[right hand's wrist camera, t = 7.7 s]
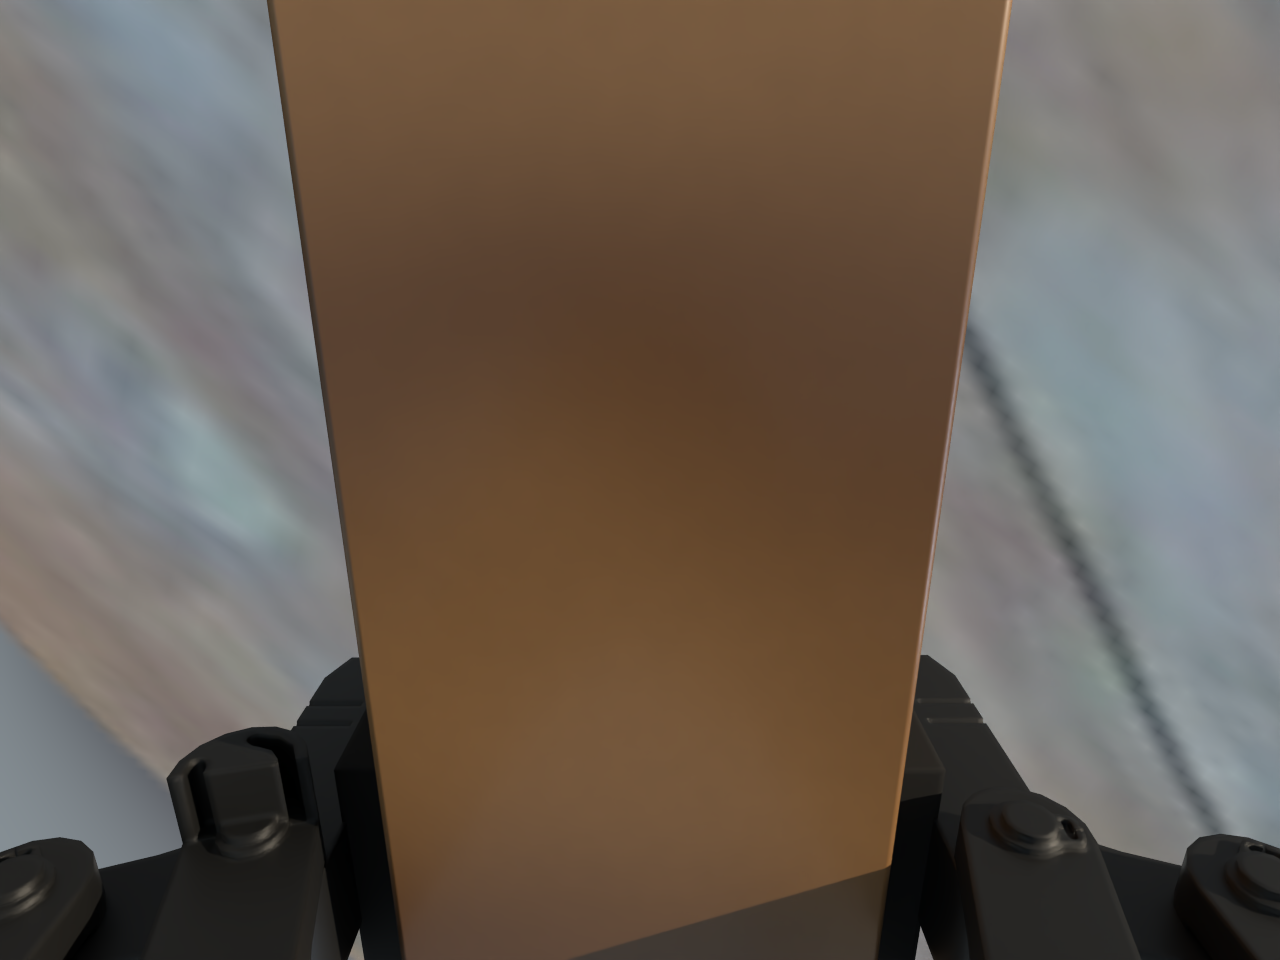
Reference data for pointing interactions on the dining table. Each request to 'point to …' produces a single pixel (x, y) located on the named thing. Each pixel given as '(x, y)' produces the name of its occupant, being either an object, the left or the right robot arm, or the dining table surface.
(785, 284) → the bar
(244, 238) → the dining table surface
